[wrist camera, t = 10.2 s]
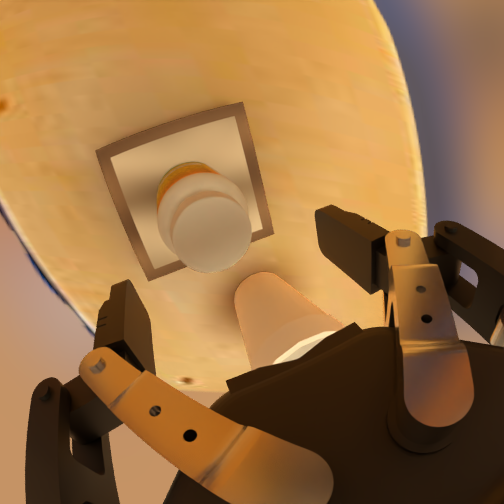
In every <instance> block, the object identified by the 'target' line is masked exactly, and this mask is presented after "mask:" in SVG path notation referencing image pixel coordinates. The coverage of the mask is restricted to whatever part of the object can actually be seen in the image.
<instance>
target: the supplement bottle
mask: <svg viewBox="0 0 504 504" xmlns="http://www.w3.org/2000/svg"><path fill="white" fill-rule="evenodd" d="M156 201H157V223H158V230H159V233H160V236H161V238H162V240H163V242H164V243H165V245H166V246H167V247H168V248H169V249H170V250H171V251H172V252H173V253H174V254H176V255H177V256H178V258H179V259H180V260H181V261H182V262H183V263H184V264H185V265H186V266H187V267H189V268H191V269H193V270H195V271H198V272H203V273H215V272H220V271H223V270H226V269H228V268H230V267H232V266H233V265H235V264H236V263H237V262H238V261H239V260H240V259H241V258H242V257H243V256H244V254H245V253H246V251H247V250H248V247H249V245H250V242H251V237H252V226H251V222H250V219H249V211H248V205H247V202H246V199H245V197H244V195H243V193H242V192H241V190H240V189H239V188H238V187H237V186H236V185H235V184H234V183H233V182H232V181H230V180H229V179H227V178H226V177H225V176H223V175H222V174H220V173H219V172H218V171H216V170H215V169H213V168H212V167H210V166H209V165H207V164H204V163H201V162H195V161H192V162H184V163H181V164H178V165H176V166H174V167H172V168H171V169H170V170H168V171H167V172H166V173H165V174H164V176H163V177H162V179H161V181H160V182H159V185H158V188H157V200H156Z"/></svg>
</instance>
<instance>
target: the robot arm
mask: <svg viewBox="0 0 504 504" xmlns="http://www.w3.org/2000/svg"><path fill="white" fill-rule="evenodd" d="M315 221H316V229H317V236H318V244H319V247H320V250H321V252H322V253H323V255H324V256H325V257H326V258H328V259H329V260H330V261H331V262H332V263H334V264H335V265H336V266H337V267H338V268H340V269H341V270H342V271H343V272H344V273H346V274H347V275H348V276H349V277H350V278H352V279H353V280H354V281H355V282H356V283H357V284H359V285H360V286H361V287H362V288H363V289H364V290H366V291H367V292H368V293H369V294H370V295H371V294H373V293H375V292H377V291H379V290H383V317H384V327H373V328H368V329H363V330H362V329H361V328H360V327H359V326H358V325H357V324H356V323H355V322H354V323H352V324H350V325H348V326H346V327H344V328H342V329H341V330H339V331H337V332H335V333H333V334H331V335H329V336H327V337H325V338H324V339H323V340H322V341H320V342H319V343H318V344H317V345H315V346H314V347H313V348H312V349H310V350H309V351H308V352H306V353H305V354H304V355H303V356H301V357H300V358H298V359H295V360H291V361H287V362H282V363H278V364H273V365H269V366H264V367H259V368H257V369H254V370H252V371H249V372H247V373H244V374H242V375H239V376H237V377H234V378H232V379H229V380H226V383H227V386H228V388H229V391H228V392H227V393H225V394H224V395H223V396H221V397H220V398H219V399H218V400H216V402H215V403H213V405H211V407H210V408H207V407H205V406H203V405H202V404H200V403H198V402H197V401H195V400H193V399H191V398H190V397H188V396H186V395H185V394H183V393H182V392H180V391H178V390H177V389H175V388H173V387H172V386H170V385H169V384H167V383H166V382H164V381H163V380H161V379H159V378H158V377H156V371H155V362H154V353H153V344H152V333H151V322H150V318H149V315H148V313H147V311H146V309H145V307H144V305H143V303H142V301H141V300H140V298H139V296H138V294H137V292H136V290H135V288H134V286H133V284H132V283H131V281H130V280H129V279H127V280H125V281H122V282H120V283H117V284H115V285H112V286H111V292H110V298H109V300H107V301H105V302H104V303H103V305H102V307H101V308H100V310H99V313H98V319H97V320H98V321H97V326H96V327H97V329H96V332H95V339H94V347H93V350H92V351H91V352H89V353H88V354H87V355H86V356H85V357H84V358H83V360H82V361H81V363H80V366H79V376H77V377H76V378H74V379H72V380H71V381H69V382H68V383H66V384H64V385H62V383H61V382H60V381H59V380H58V379H56V378H53V377H51V378H47V379H45V380H43V381H42V382H40V383H39V384H38V386H37V387H36V388H35V390H34V392H33V394H32V398H31V405H30V413H29V421H28V431H27V442H26V463H25V492H26V504H120V503H119V497H118V492H117V488H116V482H115V476H114V470H113V464H112V457H111V450H110V442H109V433H108V432H110V431H111V430H113V429H115V428H116V427H118V426H119V425H121V424H123V423H124V424H125V425H126V426H128V428H130V429H131V430H132V431H133V432H134V433H135V434H136V435H137V436H138V437H140V438H141V439H142V440H143V441H144V442H145V443H147V444H148V445H149V446H150V447H151V448H152V449H154V450H155V451H156V452H157V453H159V454H160V455H161V456H162V457H164V458H165V459H166V460H168V461H169V462H170V463H171V464H173V465H174V466H175V467H177V468H178V469H179V470H178V472H177V474H176V477H175V479H174V481H173V483H172V485H171V487H170V490H169V492H168V494H167V496H166V498H165V500H164V502H163V504H504V249H502V248H501V247H499V246H497V245H496V244H494V243H492V242H491V241H489V240H487V239H486V238H484V237H482V236H481V235H479V234H477V233H475V232H474V231H472V230H470V229H468V228H467V227H464V226H463V225H461V224H459V223H457V222H453V221H441V222H438V223H436V225H435V226H434V235H433V236H429V237H424V238H421V237H420V236H419V235H418V234H417V233H415V232H412V231H409V230H395V231H392V232H389V231H387V230H386V229H384V228H382V227H380V226H378V225H377V224H375V223H373V222H372V223H371V221H369V220H367V219H365V218H364V217H362V216H360V215H358V214H356V213H351V212H347V211H344V210H342V209H340V208H338V207H336V206H334V205H329V206H326V207H323V208H320V209H318V210H316V211H315ZM462 262H463V263H465V264H466V265H467V266H469V267H470V268H472V269H473V270H474V271H475V272H476V273H477V276H478V285H477V288H476V287H475V286H473V285H472V284H471V283H469V282H468V281H467V280H465V279H464V278H463V277H461V276H460V275H459V273H460V268H461V263H462ZM451 309H452V310H453V311H454V312H455V313H456V314H457V315H458V316H460V317H461V318H462V319H463V320H464V321H465V322H466V323H468V324H469V325H470V326H471V327H472V328H473V329H474V330H475V331H477V333H479V334H480V335H481V336H482V337H483V338H484V339H485V340H486V341H487V342H488V343H489V344H490V345H488V344H482V343H476V342H470V341H464V340H459V338H458V334H457V329H456V326H455V321H454V317H453V313H452V310H451ZM70 437H71V438H72V452H73V455H72V454H71V451H70Z"/></svg>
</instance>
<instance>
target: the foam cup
mask: <svg viewBox="0 0 504 504" xmlns="http://www.w3.org/2000/svg"><path fill="white" fill-rule="evenodd" d="M234 305H235V310H236V313H237V317H238V321H239V325H240V329H241V332H242V336H243V340H244V343H245V347H246V351H247V354H248V358H249V362H250V365H251V371H252V370H254V369H257V368H259V367H264V366H269V365H273V364H278V363H282V362H287V361H291V360H295V359H298V358H300V357H301V356H303V355H304V354H305V353H306V352H308V351H309V350H310V349H312V348H313V347H314V346H315V345H317V344H318V343H319V342H320V341H322V340H323V339H324V338H325V337H327V336H329V335H331V334H333V333H335V332H337V331H339V330H341V329H342V328H344V327H345V326H344V325H343V324H342V323H341V322H340V321H338V320H337V319H335V318H334V317H332V316H331V315H327V314H326V313H325V312H324V311H322V310H321V309H320V308H318V307H317V306H316V305H315V304H313V303H312V302H311V301H310V300H308V299H307V298H306V297H304V296H303V295H302V294H301V293H299V292H298V291H297V290H295V289H294V288H293V287H292V286H290V285H289V284H288V283H287V282H285V281H284V280H283V279H281V278H280V277H278V276H277V275H276V274H274V273H270V272H259V273H256V274H253V275H250V276H249V277H247V278H246V279H245V280H244V281H243V282H241V283H240V285H239V286H238V288H237V290H236V292H235V295H234Z"/></svg>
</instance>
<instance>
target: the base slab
mask: <svg viewBox="0 0 504 504" xmlns="http://www.w3.org/2000/svg"><path fill="white" fill-rule="evenodd" d="M96 154H97V157H98V160H99V163H100V166H101V169H102V172H103V175H104V177H105V180H106V183H107V186H108V188H109V191H110V194H111V196H112V199H113V201H114V204H115V206H116V209H117V211H118V214H119V216H120V219H121V221H122V224H123V226H124V228H125V231H126V233H127V236H128V238H129V240H130V242H131V245H132V247H133V249H134V251H135V254H136V256H137V258H138V260H139V262H140V264H141V267H142V269H143V271H144V273H145V275H146V277H147V279H148V281H151V280H153V279H156V278H159V277H161V276H164V275H167V274H169V273H172V272H174V271H177V270H180V269H182V268H185V267H187V266H186V265H185V264H184V263H183V262H182V261H181V260H180V259H179V258H178V256H177V255H176V254H174V253H173V252H172V251H171V250H170V249H169V248H168V247H167V246H166V245H165V243H164V242H163V240H162V238H161V236H160V233H159V230H158V223H157V201H156V200H157V188H158V185H159V182H160V181H161V179H162V177H163V176H164V174H165V173H166V172H167V171H168V170H170V169H171V168H172V167H174V166H176V165H178V164H181V163H184V162H192V161H195V162H201V163H204V164H207V165H209V166H210V167H212V168H213V169H215V170H216V171H218V172H219V173H220V174H222V175H223V176H225V177H226V178H227V179H229V180H230V181H232V182H233V183H234V184H235V185H236V186H237V187H238V188H239V189H240V190H241V192H242V193H243V195H244V197H245V199H246V202H247V205H248V211H249V219H250V222H251V226H252V237H251V242H254V241H257V240H259V239H262V238H265V237H267V236H270V235H273V234H274V231H273V226H272V222H271V217H270V213H269V209H268V204H267V200H266V196H265V191H264V187H263V183H262V178H261V174H260V170H259V166H258V161H257V157H256V153H255V149H254V145H253V141H252V137H251V133H250V129H249V125H248V121H247V117H246V113H245V109H244V105H243V102H239V103H235V104H231V105H227V106H223V107H219V108H215V109H211V110H208V111H204V112H201V113H197V114H194V115H190V116H187V117H184V118H180V119H177V120H174V121H171V122H168V123H165V124H162V125H159V126H156V127H153V128H151V129H148V130H145V131H142V132H140V133H137V134H134V135H132V136H129V137H127V138H124V139H122V140H119V141H117V142H114V143H112V144H109V145H107V146H105V147H102V148H100V149H98V150H96ZM251 242H250V243H251Z"/></svg>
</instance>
